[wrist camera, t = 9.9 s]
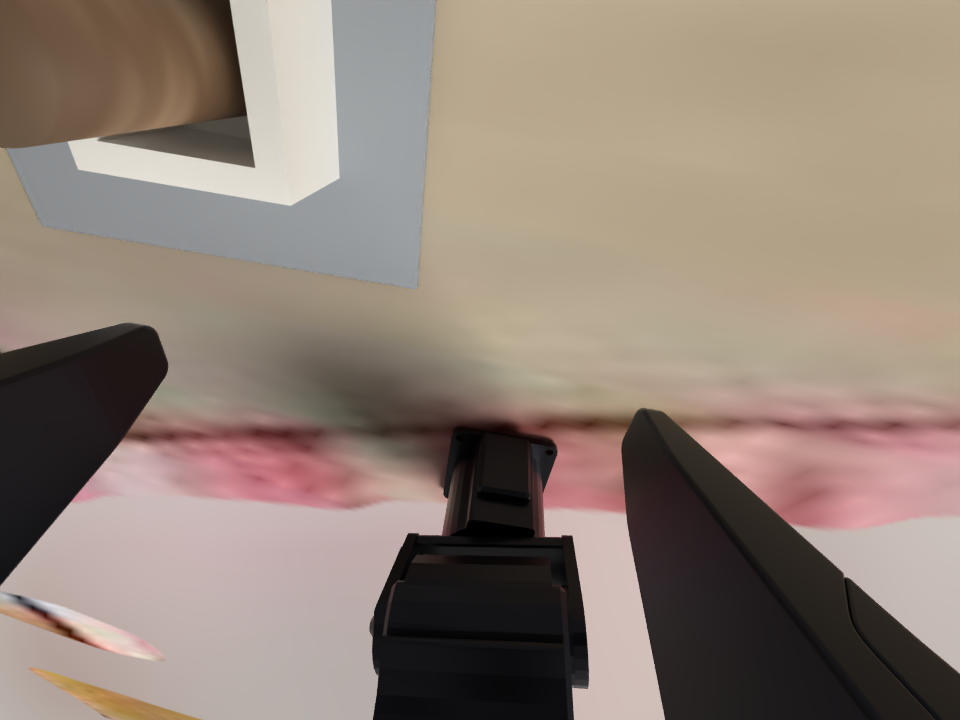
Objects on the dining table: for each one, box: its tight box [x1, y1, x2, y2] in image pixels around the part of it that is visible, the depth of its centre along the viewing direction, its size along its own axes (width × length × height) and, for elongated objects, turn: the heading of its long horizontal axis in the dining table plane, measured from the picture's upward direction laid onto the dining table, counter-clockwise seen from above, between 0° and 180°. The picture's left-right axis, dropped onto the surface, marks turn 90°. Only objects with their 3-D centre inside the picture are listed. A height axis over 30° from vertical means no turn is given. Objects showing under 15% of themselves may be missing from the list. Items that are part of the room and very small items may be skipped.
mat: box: [6, 0, 436, 289], centre depth 17 cm, size 12×18×1 cm, turn 82°
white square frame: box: [68, 0, 340, 206], centre depth 13 cm, size 7×7×4 cm
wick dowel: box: [0, 0, 247, 149], centre depth 11 cm, size 3×3×9 cm
